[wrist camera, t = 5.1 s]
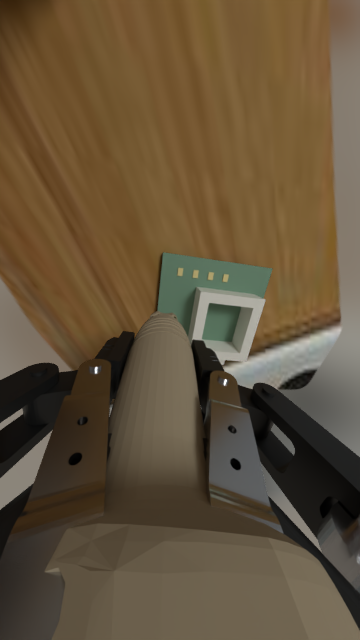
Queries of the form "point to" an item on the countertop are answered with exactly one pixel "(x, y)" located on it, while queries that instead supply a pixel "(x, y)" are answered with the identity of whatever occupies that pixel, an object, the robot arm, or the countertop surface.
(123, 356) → the robot arm
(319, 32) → the countertop surface
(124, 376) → the handle
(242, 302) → the socket
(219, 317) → the board
